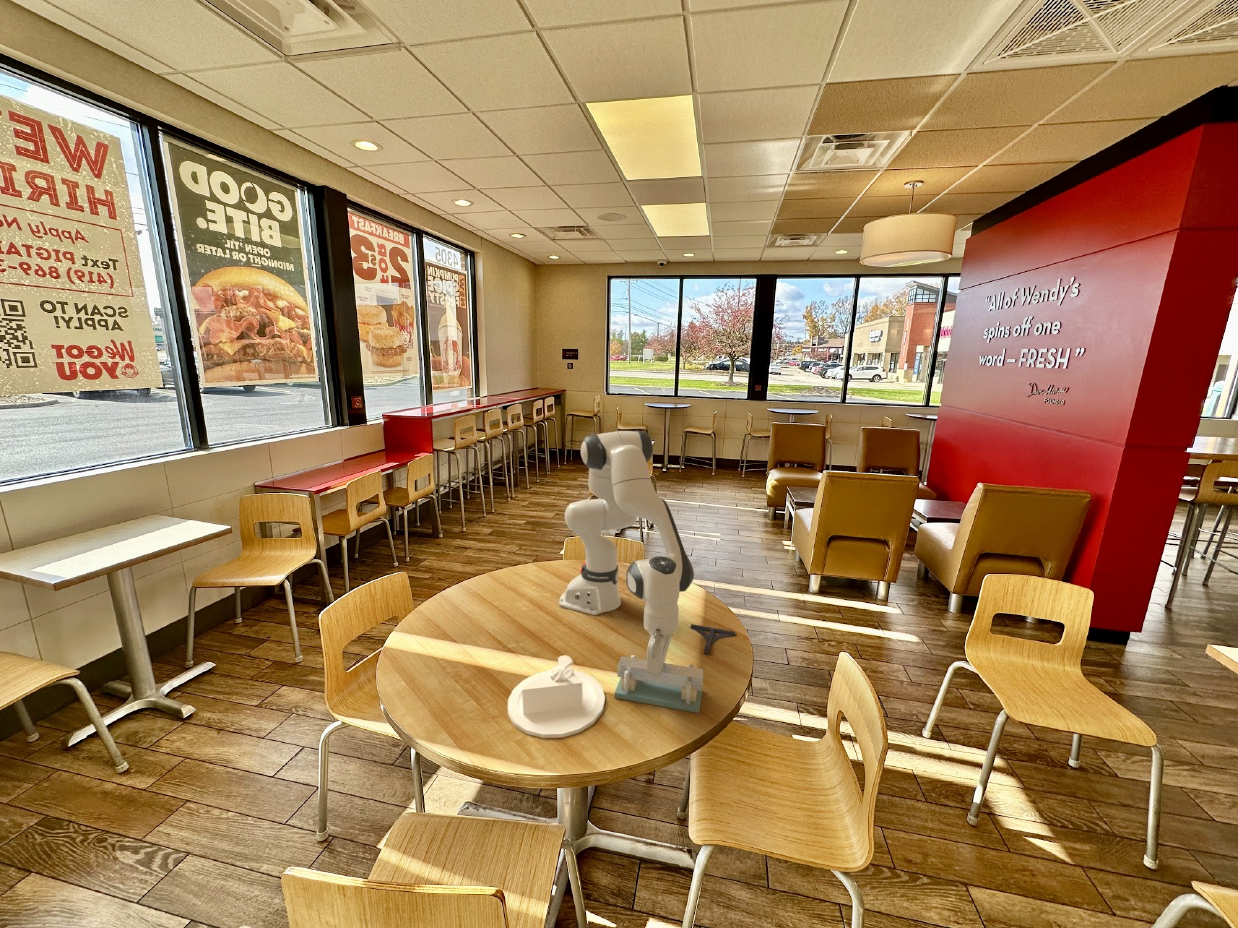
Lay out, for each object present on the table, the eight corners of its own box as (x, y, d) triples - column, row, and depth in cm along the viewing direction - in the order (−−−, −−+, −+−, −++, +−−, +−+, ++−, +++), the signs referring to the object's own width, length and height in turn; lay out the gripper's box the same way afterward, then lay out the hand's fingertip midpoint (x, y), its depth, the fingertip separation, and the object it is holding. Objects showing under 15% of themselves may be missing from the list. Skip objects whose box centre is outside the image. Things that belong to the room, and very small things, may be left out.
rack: (614, 697, 130) (614, 672, 128) (622, 676, 138) (623, 652, 136) (699, 712, 124) (700, 686, 123) (702, 690, 133) (703, 665, 131)
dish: (576, 663, 145) (576, 628, 142) (622, 714, 124) (623, 674, 122) (494, 692, 132) (492, 654, 129) (530, 754, 111) (529, 711, 109)
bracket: (682, 651, 151) (682, 643, 151) (691, 627, 165) (691, 619, 164) (730, 661, 147) (730, 653, 146) (735, 635, 161) (735, 627, 160)
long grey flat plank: (617, 676, 131) (617, 664, 130) (621, 667, 135) (621, 656, 134) (701, 690, 126) (701, 678, 125) (702, 680, 129) (703, 669, 129)
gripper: (666, 644, 116) (665, 696, 119) (678, 603, 135) (677, 648, 138) (640, 640, 118) (639, 691, 121) (655, 600, 137) (654, 645, 140)
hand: (659, 668), depth 130 cm, fingers open, 5 cm apart
